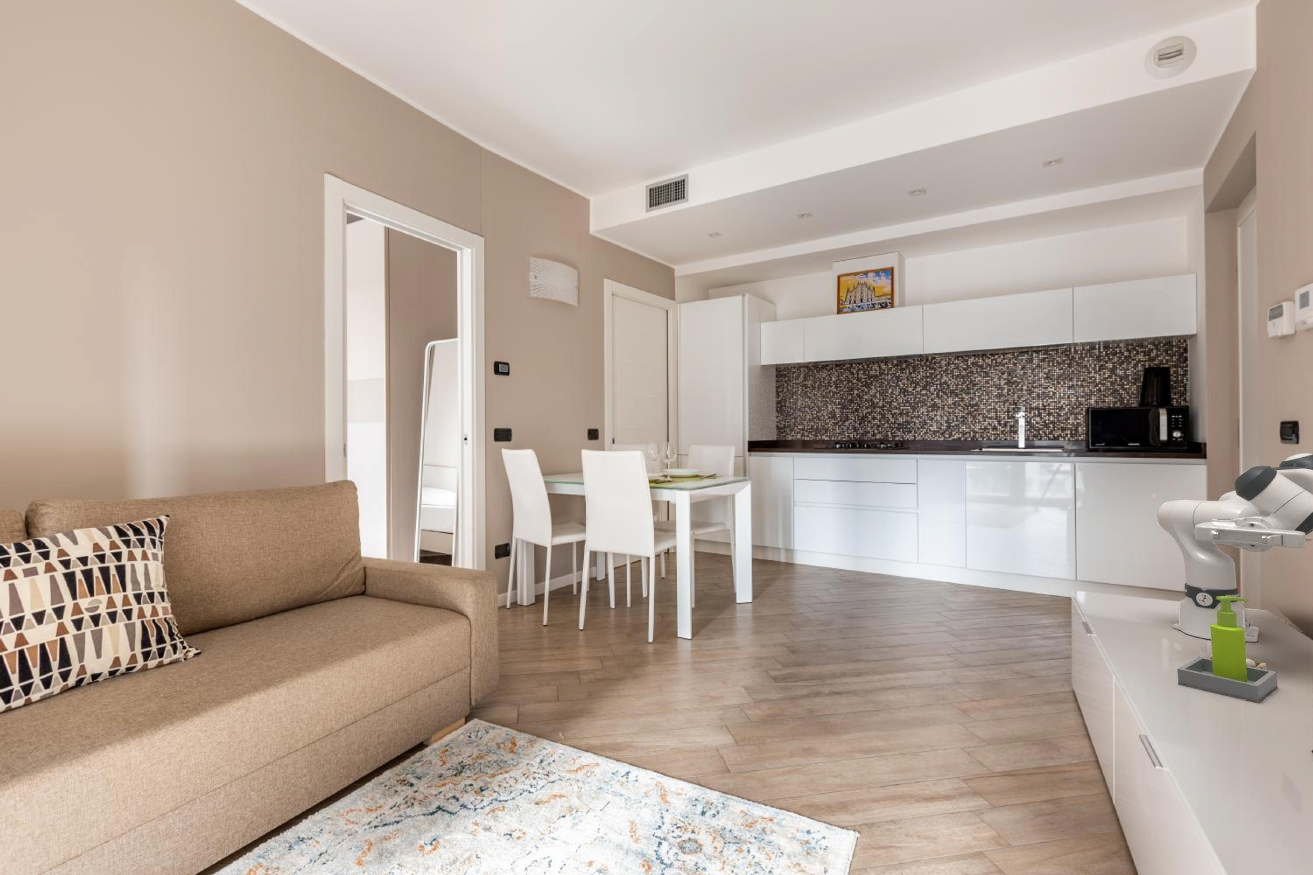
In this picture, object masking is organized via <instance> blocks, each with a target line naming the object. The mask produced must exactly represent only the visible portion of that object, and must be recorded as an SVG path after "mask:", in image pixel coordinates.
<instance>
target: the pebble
mask: <svg viewBox="0 0 1313 875" xmlns="http://www.w3.org/2000/svg"><path fill="white" fill-rule="evenodd" d="M1254 661H1255V660H1253V659H1250V658H1247V657H1246V666H1249V667H1254V668H1255V667H1256V664H1255V662H1254Z"/></svg>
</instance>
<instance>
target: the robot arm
mask: <svg viewBox="0 0 1313 875" xmlns="http://www.w3.org/2000/svg"><path fill="white" fill-rule="evenodd" d="M1156 514H1157V516H1156V517H1157V522H1158V524H1159V526H1160V527H1161V528H1162V529H1163V530H1164V531H1166V532H1167V533H1168V534H1169V535H1170V536H1171V537H1172V539H1174V541H1175V542H1176V544H1177V545H1178V547H1179V550H1180V551H1181V554H1182V557H1183V561H1184V571H1185V583H1184V587H1183V591H1184V596H1185V598H1183V599H1181V600H1180V601H1179V605H1178V607H1179V608H1178V610H1179V611H1178V622H1176V623H1173V624H1172V626H1173V627H1172V628H1174V629H1175V630H1179V631H1181V632H1183V633H1184V634H1187V635H1189V636H1193V637H1197V638H1201V639H1207V640H1211V628H1210V625H1211V624H1215V623H1217V610H1219V609H1221V601H1220V600H1217V599H1216V597H1218V596H1235V597H1240V595H1241V594H1240V590H1241V589H1240V586H1238V585H1237V575H1236V574H1237V572H1236V563H1235V561H1234V559H1233V558H1232V557H1231V556H1230V555H1229V554H1227V553H1226V552H1224V551H1223V550H1221V549H1220V548H1219V547H1218V545H1221V546H1222V545H1223V546H1227V547H1234V548H1238V549H1240V550H1246V551H1248V552H1253V553H1263V552H1268V551H1270V550H1271V551H1272V550H1273V549H1276V548H1277V549H1278V548H1287V549H1288V548H1289V549H1304V548H1306V545H1307V542H1312V540H1313V537H1310V536H1307V535H1308V534H1310V533H1312V532H1313V453H1309V452H1308V453H1307V452H1304V453H1297V454H1293V455H1291V456H1289V457H1287V458H1286V459H1284V460H1282V461H1281V462H1280V463H1279V466H1276V467H1271V466H1270V465H1257V466H1256V465H1255V466H1253V467H1251V468H1249V469H1247V470H1245V471H1243V472H1242V473H1241V474H1240V475H1239V476H1238V477H1237V478H1236V479H1235V481H1234V490H1232V491H1229V492H1226V493H1224V494H1222V495H1221V496H1220V497H1219V499H1218V500H1201V499H1198V500H1197V499H1174V500H1169V501H1165V502H1163V503H1162V504H1161V505H1160V506H1159V508H1158V510H1157V513H1156ZM1240 598H1241V597H1240ZM1231 610H1233V611H1234V612H1236V619H1237V626H1240V627H1243V628H1244V630H1245V642H1250V643H1256V642H1258V641H1259V640H1258V639H1259V634H1260V629H1259V627H1257V626H1255V625H1251V623H1250V622H1249V617H1248V616H1249V614H1248V610H1247V609H1246V608H1245V607H1244V605H1243V604H1242V603H1241V601H1231Z"/></svg>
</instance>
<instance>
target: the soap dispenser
mask: <svg viewBox="0 0 1313 875" xmlns="http://www.w3.org/2000/svg"><path fill="white" fill-rule="evenodd" d="M1216 599H1217V600H1220V601H1221V609H1219V610H1217V623H1215V624H1211V625H1210V628H1211V639H1210V640H1211V641H1210V642H1211V643H1210V644H1211V654H1212V665H1213V675H1214V676H1219V677H1224V678H1228V679H1233V680H1237V681H1242V682H1247V667H1246V658H1247V653H1246V652H1247V650H1246V641H1245V630H1244V628H1243V627H1240V626H1237V619H1236V612H1234V611H1233V610H1231V601H1240V602H1245V603H1247V602H1248V601H1249V599H1246V598H1243V597H1235V596H1218V597H1216Z"/></svg>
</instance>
